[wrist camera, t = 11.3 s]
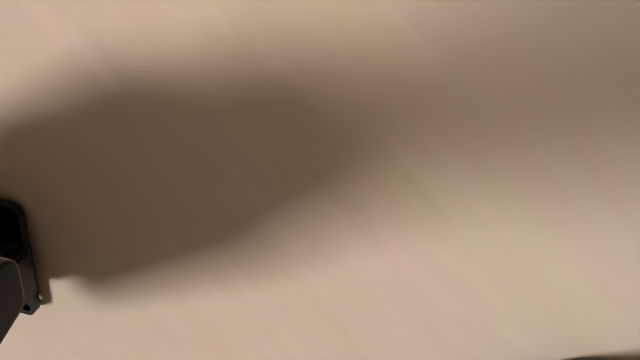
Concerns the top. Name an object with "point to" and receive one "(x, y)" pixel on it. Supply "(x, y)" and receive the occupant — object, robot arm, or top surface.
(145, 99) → the top surface
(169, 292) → the top surface
